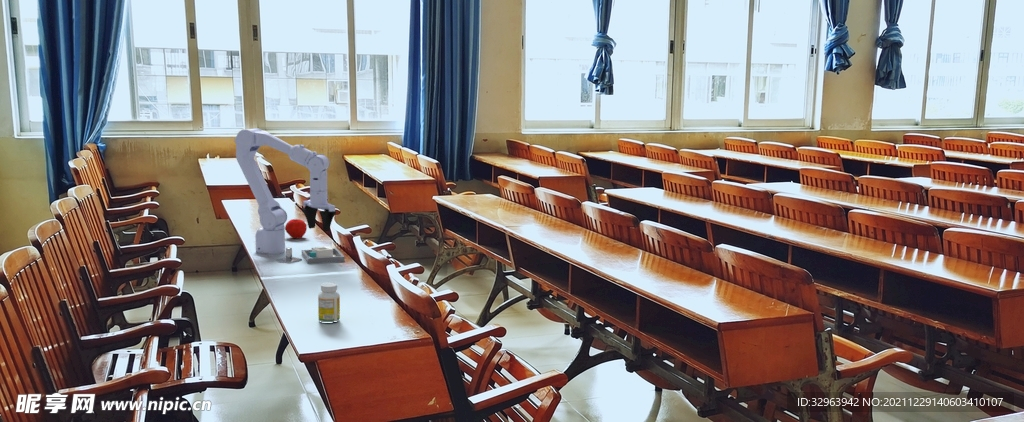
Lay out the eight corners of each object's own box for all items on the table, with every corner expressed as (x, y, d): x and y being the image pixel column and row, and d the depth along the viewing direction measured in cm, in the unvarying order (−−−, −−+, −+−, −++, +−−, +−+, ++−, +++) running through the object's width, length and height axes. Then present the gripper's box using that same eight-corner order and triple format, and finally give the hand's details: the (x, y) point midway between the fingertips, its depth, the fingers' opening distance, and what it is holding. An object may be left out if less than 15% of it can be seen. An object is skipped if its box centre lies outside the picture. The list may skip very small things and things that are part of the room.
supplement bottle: (327, 325, 208) (326, 288, 207) (314, 321, 212) (313, 284, 210) (344, 321, 212) (343, 284, 211) (331, 316, 216) (330, 281, 214)
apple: (281, 238, 313) (280, 219, 312) (294, 235, 321) (293, 216, 319) (298, 240, 310) (298, 221, 309) (311, 237, 318) (310, 218, 316)
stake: (274, 260, 277) (274, 246, 277) (300, 258, 281) (299, 245, 280) (277, 266, 270) (277, 251, 269) (303, 264, 273) (303, 250, 272)
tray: (301, 257, 283) (301, 250, 283) (336, 254, 288) (336, 248, 288) (307, 266, 271) (307, 258, 270) (344, 263, 275) (344, 256, 275)
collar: (307, 258, 279) (307, 248, 278) (326, 256, 283) (326, 246, 282) (313, 261, 275) (313, 251, 274) (333, 259, 279) (333, 249, 278)
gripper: (295, 189, 283) (296, 228, 285) (323, 193, 274) (323, 234, 277) (312, 187, 289) (312, 225, 291) (339, 191, 280) (339, 231, 282)
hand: (319, 229), depth 284 cm, fingers open, 7 cm apart
